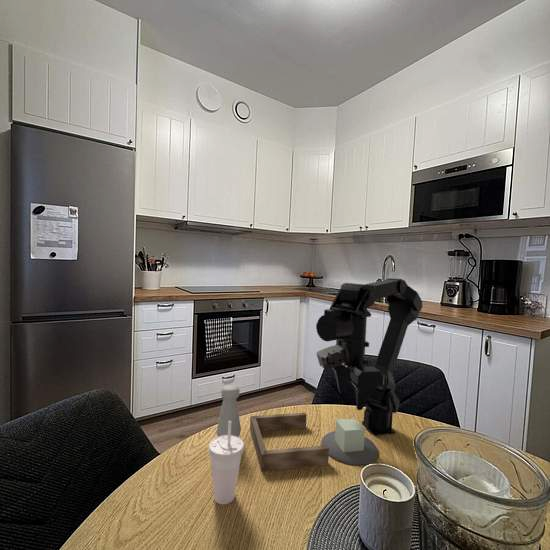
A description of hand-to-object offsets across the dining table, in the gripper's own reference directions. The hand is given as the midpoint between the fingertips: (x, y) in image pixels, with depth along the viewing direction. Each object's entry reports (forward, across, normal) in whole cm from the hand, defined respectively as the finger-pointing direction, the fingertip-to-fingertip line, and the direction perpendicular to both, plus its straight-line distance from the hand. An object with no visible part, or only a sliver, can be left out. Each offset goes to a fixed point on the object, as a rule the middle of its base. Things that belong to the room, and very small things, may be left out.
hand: (349, 400), depth 74 cm
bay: (+11, -2, -15) cm, 19 cm away
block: (+10, 0, 0) cm, 11 cm away
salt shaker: (+11, -7, -28) cm, 31 cm away
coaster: (+11, +1, 0) cm, 11 cm away
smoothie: (+11, +11, -30) cm, 34 cm away
